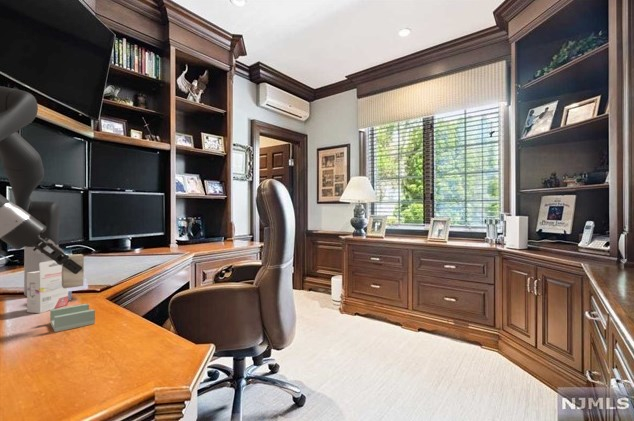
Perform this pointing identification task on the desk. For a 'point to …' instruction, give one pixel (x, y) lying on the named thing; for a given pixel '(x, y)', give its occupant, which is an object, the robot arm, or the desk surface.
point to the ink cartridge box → (46, 288)
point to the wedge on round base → (77, 288)
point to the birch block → (71, 278)
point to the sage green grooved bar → (71, 317)
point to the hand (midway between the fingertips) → (77, 269)
